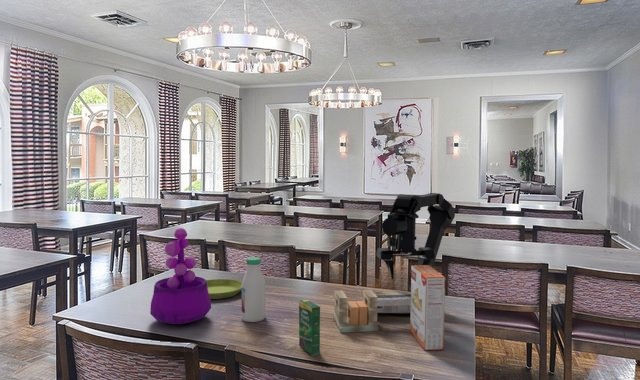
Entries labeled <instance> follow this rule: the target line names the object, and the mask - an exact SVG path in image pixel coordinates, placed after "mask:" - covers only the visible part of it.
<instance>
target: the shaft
mask: <svg viewBox="0 0 640 380" xmlns="http://www.w3.org/2000/svg"><path fill="white" fill-rule="evenodd" d="M402 305H411V297H399V298H378V299H377V306H402Z"/></svg>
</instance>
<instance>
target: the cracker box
mask: <svg viewBox="0 0 640 380" xmlns="http://www.w3.org/2000/svg"><path fill="white" fill-rule="evenodd" d="M433 268H434V267H433ZM433 268H432V267H430V266H429V265H413V264H412V265H411V270H410V272H411V289H410V292H411V313H410V320H409V321H410V323H409V325H410V326H409V327H410V328H409V330H410V332H411V334H412V336H413V337H414V338H415V340H416V341H417V342H418V344H419V345H420V347H421V348H422V349H423V351H442V350H444V345H445V343H444V340H445V339H444V337H445V304H446V303H445V302H446V277H445V276H444V275H442V274H441V273H440V272H438V271H437V270H436V269H435V268H434V269H433Z"/></svg>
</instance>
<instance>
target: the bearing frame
mask: <svg viewBox="0 0 640 380" xmlns="http://www.w3.org/2000/svg"><path fill="white" fill-rule="evenodd" d="M362 296H363V297H362V301H364V302H365V304H366V305H367V307H368V308H367V325H359V324H358V325H357V326H350V324H349V322H348V320H347V303H348V302H349V301H348V300H349V299H348V297H347V295H346V294H345V292H344V291H343V290H334V313H333V314H332V315H333V316H332V319H333V321H334V323H335V325H336V327H337V329H338V331H339V333H340V334H342V333H357V332H359V333H360V332H362V333H363V332H380V331H379V327H380V326H379V325H378V313H377V299H378V297H377V296H376V295H375V294H374V293H373V290H372V289H363V290H362Z"/></svg>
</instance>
